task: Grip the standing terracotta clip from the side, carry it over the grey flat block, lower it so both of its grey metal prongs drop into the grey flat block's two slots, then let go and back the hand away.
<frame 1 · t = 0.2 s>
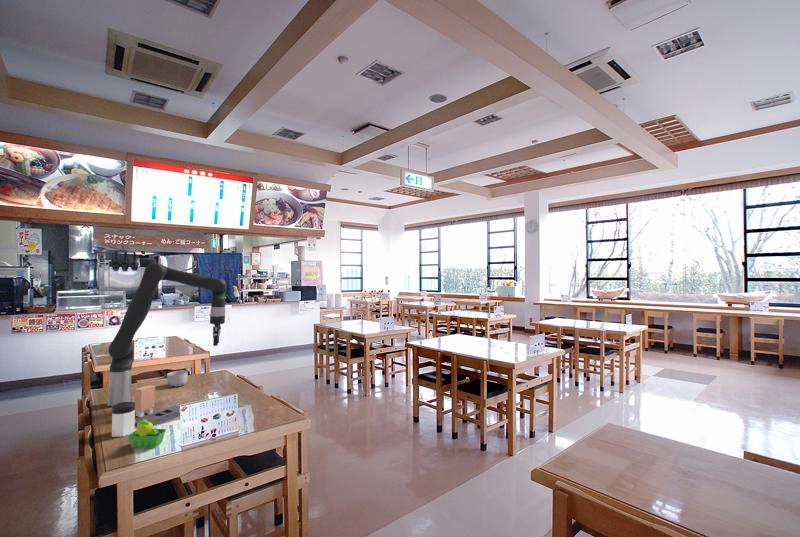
hand: (216, 344, 220), 29 cm above the table, tool pointing down, fingers open, 8 cm apart
grey flat block: (163, 418, 186), on the table
teacup: (178, 385, 240), on the table
fruit basket: (146, 446, 157), on the table
clip: (144, 414, 190), on the table
jar: (122, 433, 168), on the table
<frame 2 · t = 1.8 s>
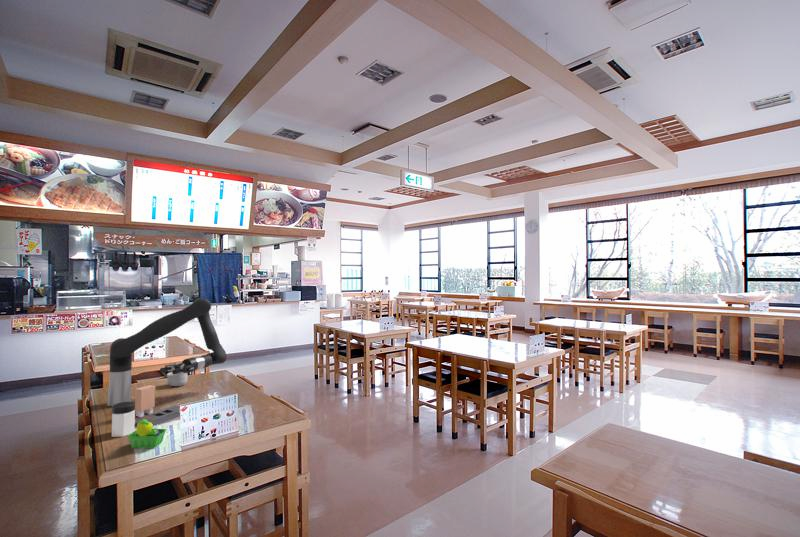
hand: (166, 371, 201), 18 cm above the table, tool horizontal, fingers open, 8 cm apart
nothing on the table moved.
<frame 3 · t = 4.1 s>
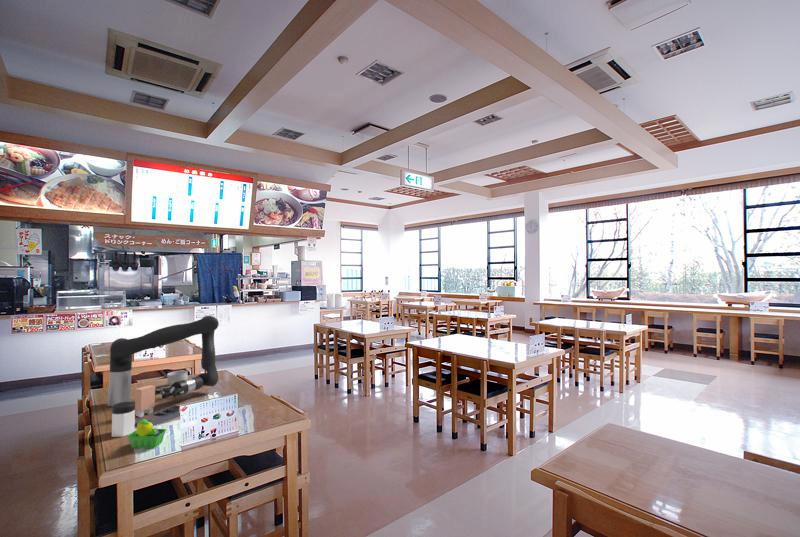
hand: (155, 395, 195), 8 cm above the table, tool horizontal, fingers open, 8 cm apart
nothing on the table moved.
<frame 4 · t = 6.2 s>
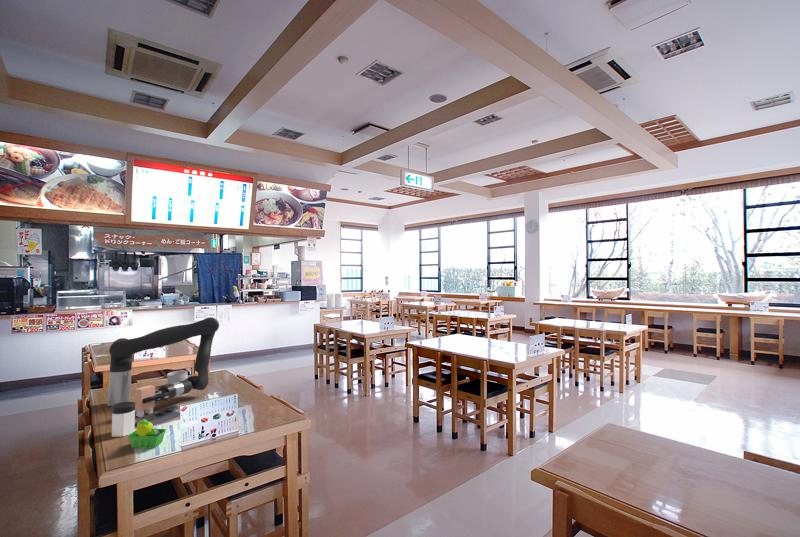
hand: (139, 400, 187), 8 cm above the table, tool horizontal, fingers closed on clip, 4 cm apart
clip: (144, 414, 190), on the table, touching gripper
everything else where it was.
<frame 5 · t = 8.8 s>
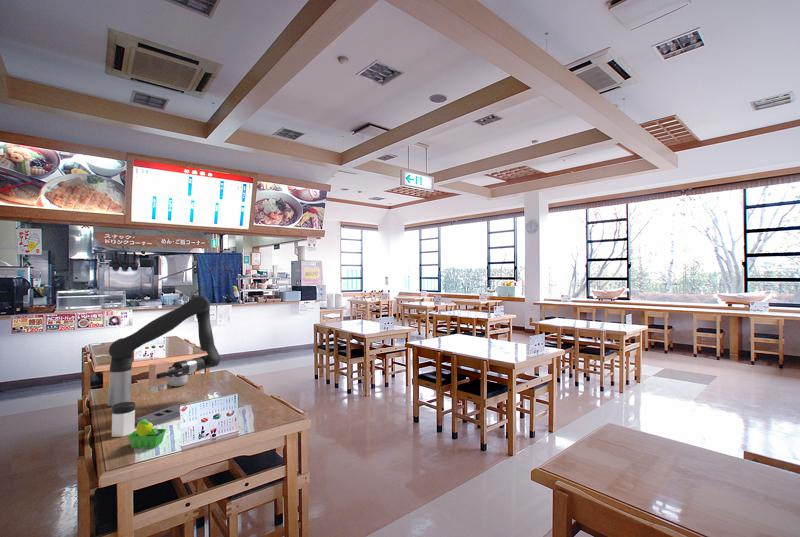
hand: (153, 375, 185), 20 cm above the table, tool horizontal, fingers closed on clip, 4 cm apart
clip: (158, 390, 188), point 12 cm above the table, touching gripper
everything else where it was.
when the fingers open (9 cm above the table, at t = 11.7 s): clip drops 1 cm, resting in grey flat block.
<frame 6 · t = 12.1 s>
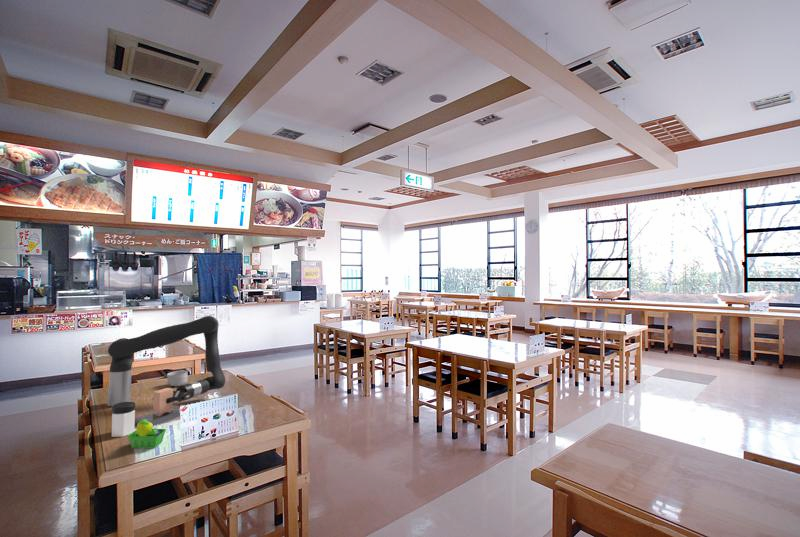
hand: (159, 400, 184), 9 cm above the table, tool horizontal, fingers open, 8 cm apart
clip: (163, 418, 186), resting in grey flat block
everything else where it was.
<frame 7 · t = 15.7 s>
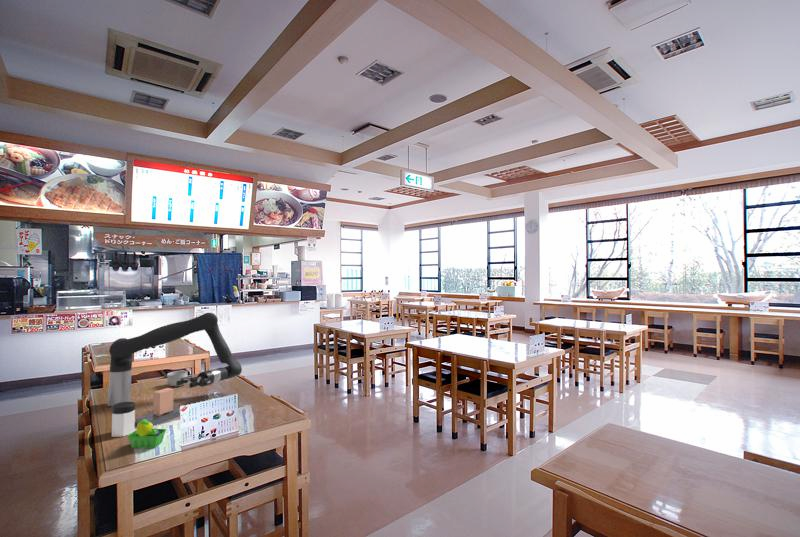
hand: (183, 384, 196), 13 cm above the table, tool horizontal, fingers open, 8 cm apart
nothing on the table moved.
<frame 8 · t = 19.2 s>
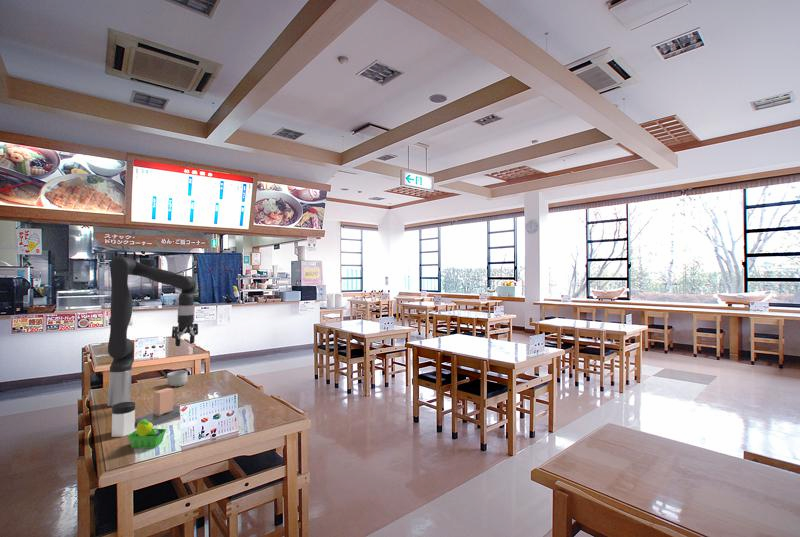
hand: (185, 344, 210), 30 cm above the table, tool pointing down, fingers open, 8 cm apart
nothing on the table moved.
at the end: clip 0.1 cm off-centre on the grey flat block, point 0.0 cm above the grey flat block's base; clip tilted 0°; the gripper is holding nothing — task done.
